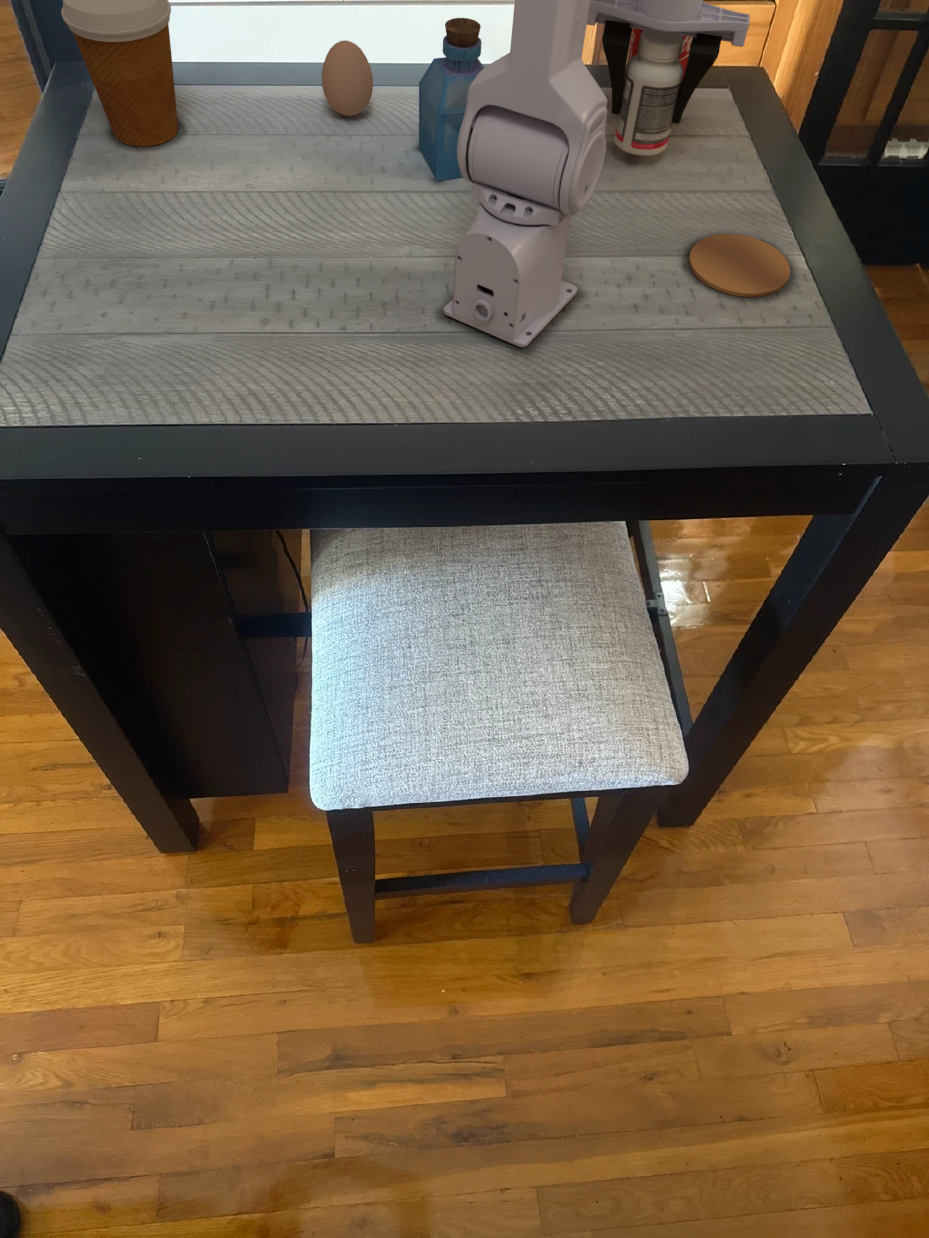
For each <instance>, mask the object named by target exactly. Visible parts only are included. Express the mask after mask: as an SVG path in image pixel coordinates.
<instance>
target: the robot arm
mask: <svg viewBox="0 0 929 1238" xmlns="http://www.w3.org/2000/svg"><path fill="white" fill-rule="evenodd" d="M513 8H514V9H513V16H512V28H511V37H510V38H511V39H510V50H509V52H508V53H506V54H505V55H502V56H501V57H499V58H498V59H496V60H495V61H493V62H491V63H489V64H488V65H486V66H484V69H483V70H482V71H481V72H479V74H478V75H477V76H476V78H475V79H474V81H473V82H472V83H471V85H470V86H469V90H468V97H467V105H466V111H465V116H464V119H463V122H462V125H461V128H460V132H459V137H458V145H457V159H458V164H459V167H460V171H461V174H462V176H463V179H464V181H466V182H468V183H470V184H471V194H470V195H471V199H474V200H476V201H478V207H477V211H476V215H475V217H474V220H473V222H472V224H471V225H470V228H469V229H468V230H467V232H466V233H465V234H464V235H463V236H462V237H461V239H460V240H459V242H458V243H457V246H456V249H455V254H454V267H453V268H454V270H453V271H454V272H453V295H452V296H453V297H452V299H451V300H450V301H449V302H448V303H447V304H446V305H445V306H444V307H443V314H444V315H445V316H447V317H450V318H451V319H454V320H456V321H459V322H461V323H463V324H466V325H468V326H469V327H472V328H475V329H477V330H479V331H481V332H484V333H486V334H489V335H490V336H492V337H496V338H498V339H499V340H502V341H504V342H506V343H509V344H511V345H514V346H515V347H519V348H526V347H528V346H529V345H530V343H532V342H533V340H534V339H535V338H537V336H538V335H539V334H540V333H541V332H542V331H543V330H544V329H545V328H546V327H547V325H548V324H549V323H550V322H551V321H552V320H553V319H554V318H555V317H556V316H557V315H558V314H559V313H560V312H561V311H562V310H563V308H565V306H566V305H567V304H568V303H569V302H570V301H571V300H572V299H573V298H574V297H575V296H576V295H577V293H578V291H579V290H578V289H579V288H578V287H577V286H576V285H574V284H572V283H570V282H567V281H565V280H562V278H563V270H564V264H565V258H566V252H567V245H568V238H569V233H570V226H571V218H572V217H573V216H575V215H577V213H579V212H580V211H582V210H583V209H584V208H586V206H587V205H588V204H589V202H590V201H591V199H592V197H593V195H594V193H595V191H596V188H597V186H598V184H599V180H600V178H601V174H602V171H603V167H604V162H605V158H606V154H607V153H606V151H607V139H606V124H607V116H608V109H607V106H608V99H607V96H606V94H605V92H604V91H603V90H602V88H601V86H600V85H599V84H598V82H597V81H596V80H595V77H593V75H592V74H591V72H590V71H589V70H588V67H587V66H586V64H585V63H584V61H583V58H582V57H583V51H584V45H585V39H586V38H585V37H586V31H587V26H595V25H596V24H603V25H604V26H603V27H604V28H603V33H602V37H601V38H602V39H601V42H602V49H603V52H604V55H605V59H606V63H607V67H608V73H609V79H610V86H611V88H610V89H611V114H612V115H617V116H618V114H619V109H620V103H621V97H622V90H623V85H624V77H625V70H626V65H627V59H628V54H629V48H630V43H631V37H632V31H633V28H636V29H643V30H650V31H657V32H664V33H671V34H678V35H685V36H692V37H693V38H692V43H691V47H690V52H689V56H688V61H687V65H686V70H685V74H684V78H683V81H682V84H681V88H680V92H679V97H678V101H677V104H676V108H675V112H674V116H673V120H672V124H676V125H677V124H678V125H679V124H680V122H681V119H682V117H683V114H684V111H685V109H686V107H687V106H688V103H689V101H690V99H691V98H692V95H693V94H694V92H695V91H696V89H697V87H698V86H699V84H700V82H701V81H702V80H703V78H704V77H705V75H706V74H707V73H708V72H709V70H710V69H711V68H712V67H713V66H714V64H715V62H716V61H717V59H718V57H719V54H720V49H721V44H722V42H727V43H730V44H731V46H734V47H741V48H743V47H744V46H745V42H746V39H747V35H748V31H749V28H750V24H751V14H750V13H743V12H740V11H739V12H738V11H734V10H731V9H727V8H724V7H720V6H717V5H714V4H710V3H707V2H704V0H514V6H513Z"/></svg>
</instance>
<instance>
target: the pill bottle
mask: <svg viewBox="0 0 929 1238" xmlns="http://www.w3.org/2000/svg"><path fill="white" fill-rule="evenodd" d="M683 41H684V38H683V36H682V35H678V34H671V33H664V32H657V31H650V30H644V31H642V33H641V35H640V40H639V45H638V53H639V54H637V55H635V56H634V57H632V58H631V59H630V61H629V62H628V65H627V64H626V65H627V68H625V70H626V73H625V79H624V85H623V90H622V97H621V103H620V109H619V114H618V115H617V119H616V125H615V131H614V142H615V144H616V146H617V148H619V149H620V150H622V151H623V152H625V153H627V154H630V155H634V156H643V157H650V156H656V155H658V154H661V153H662V152H664V150H666V148H667V147H668V143H669V140H670V136H671V131H672V127H673V123H672V120H673V116H674V112H675V108H676V104H677V101H678V97H679V92H680V88H681V84H682V80H683V73H684V70H683V66H682V64H681V63H680V61H679V60H677V59H678V58H679V57H680V54H681V53H682V46H683Z"/></svg>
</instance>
